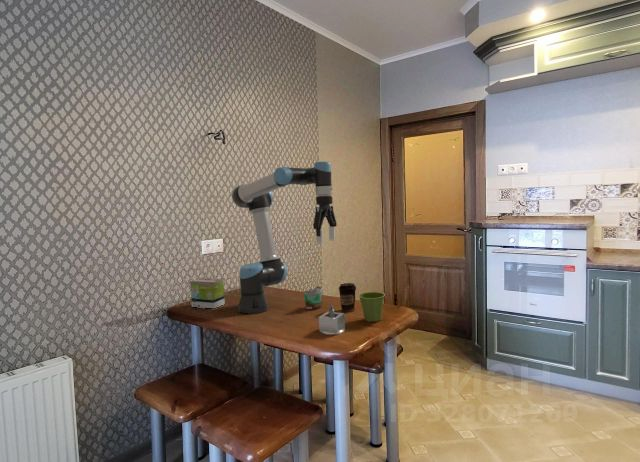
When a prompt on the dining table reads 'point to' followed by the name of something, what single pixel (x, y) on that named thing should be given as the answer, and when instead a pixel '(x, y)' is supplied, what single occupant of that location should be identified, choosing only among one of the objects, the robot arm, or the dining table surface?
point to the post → (331, 314)
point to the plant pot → (372, 305)
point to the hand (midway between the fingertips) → (326, 242)
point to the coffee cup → (347, 296)
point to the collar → (332, 322)
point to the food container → (313, 298)
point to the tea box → (207, 293)
